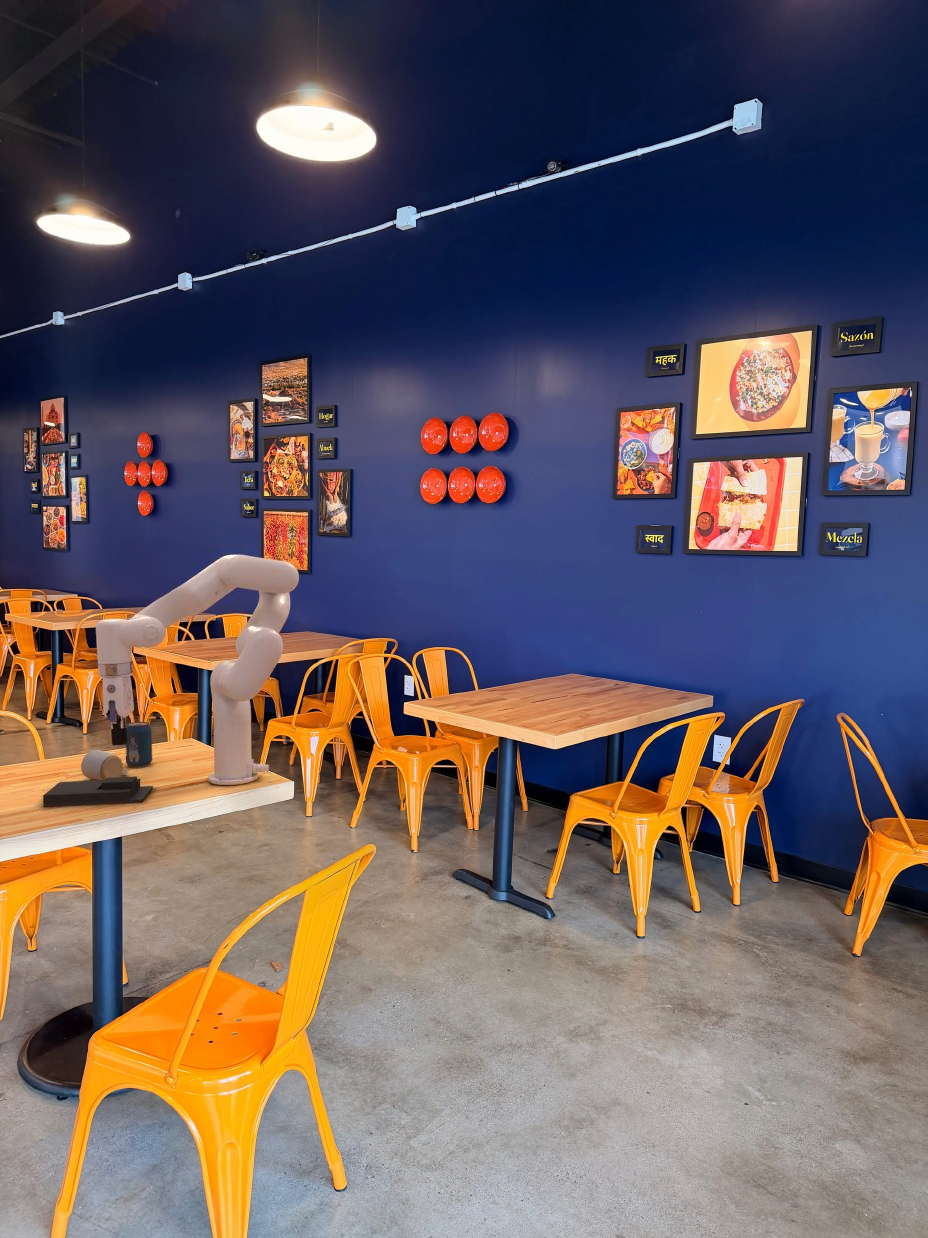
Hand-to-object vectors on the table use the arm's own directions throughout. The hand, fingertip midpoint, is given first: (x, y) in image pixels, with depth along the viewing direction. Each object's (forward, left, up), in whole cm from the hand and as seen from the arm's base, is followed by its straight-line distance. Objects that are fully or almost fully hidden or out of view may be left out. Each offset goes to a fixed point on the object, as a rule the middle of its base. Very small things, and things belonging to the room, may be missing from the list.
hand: (119, 744), depth 194 cm
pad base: (+5, 0, -13) cm, 14 cm away
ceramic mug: (+8, -18, -13) cm, 23 cm away
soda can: (+3, -32, -13) cm, 34 cm away
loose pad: (0, +1, -12) cm, 12 cm away
